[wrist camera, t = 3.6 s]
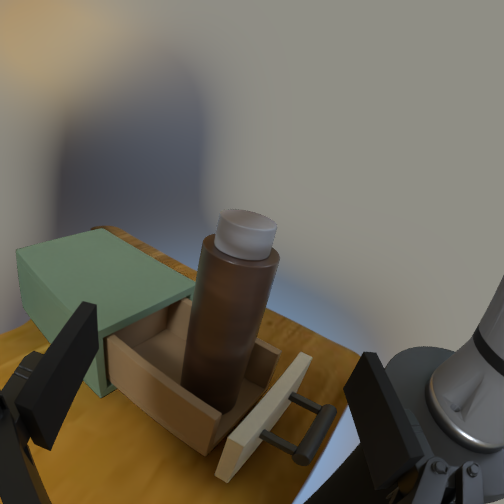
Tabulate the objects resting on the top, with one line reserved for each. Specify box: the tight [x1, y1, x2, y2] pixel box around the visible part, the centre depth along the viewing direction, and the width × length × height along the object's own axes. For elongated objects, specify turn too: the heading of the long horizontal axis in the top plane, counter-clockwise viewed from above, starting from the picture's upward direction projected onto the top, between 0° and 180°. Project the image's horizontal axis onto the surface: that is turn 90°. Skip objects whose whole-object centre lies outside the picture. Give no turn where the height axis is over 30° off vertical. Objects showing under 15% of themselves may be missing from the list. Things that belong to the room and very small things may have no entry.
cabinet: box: [16, 228, 196, 398], centre depth 31 cm, size 17×13×8 cm
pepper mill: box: [180, 209, 280, 415], centre depth 22 cm, size 5×5×16 cm
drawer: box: [103, 297, 337, 483], centre depth 25 cm, size 20×12×6 cm, turn 60°
